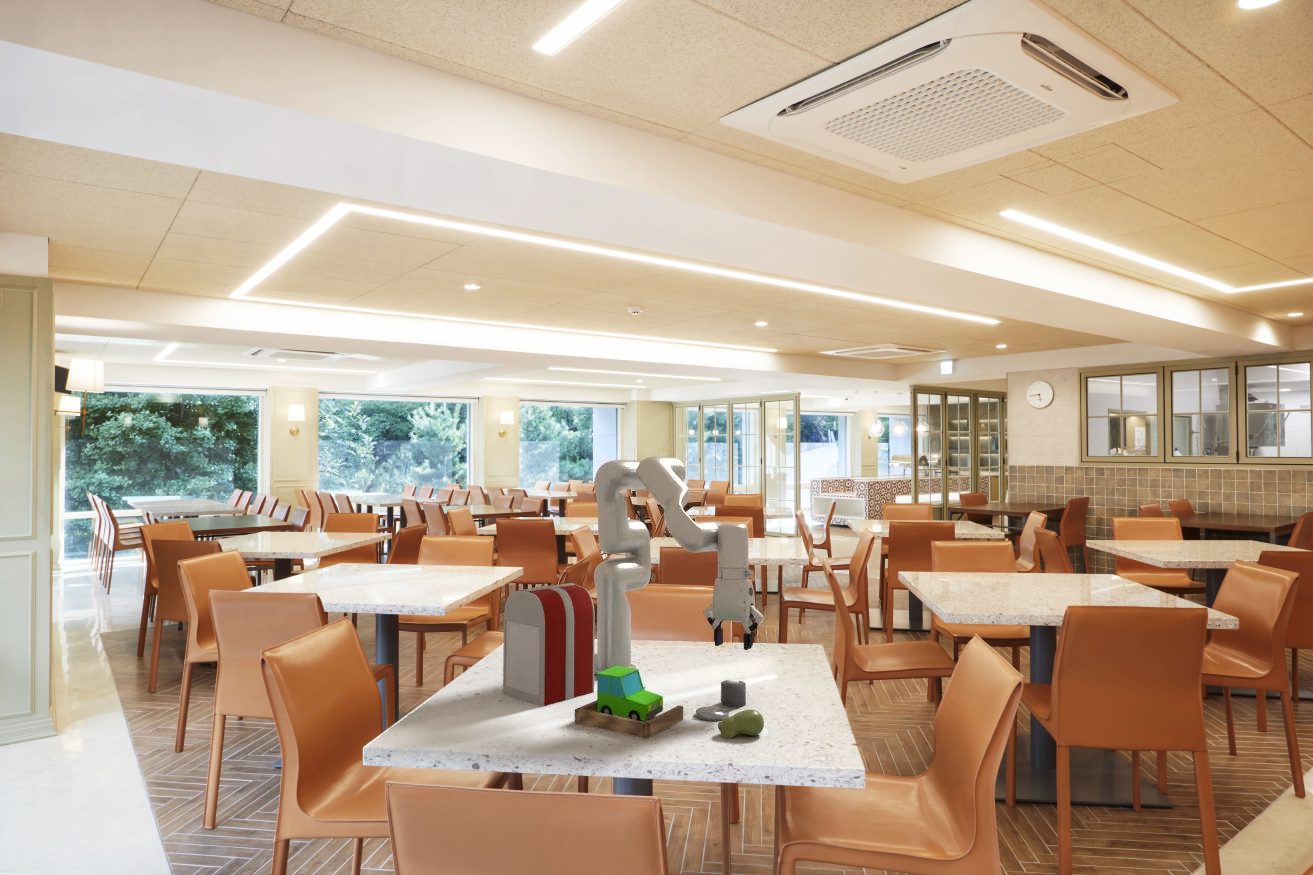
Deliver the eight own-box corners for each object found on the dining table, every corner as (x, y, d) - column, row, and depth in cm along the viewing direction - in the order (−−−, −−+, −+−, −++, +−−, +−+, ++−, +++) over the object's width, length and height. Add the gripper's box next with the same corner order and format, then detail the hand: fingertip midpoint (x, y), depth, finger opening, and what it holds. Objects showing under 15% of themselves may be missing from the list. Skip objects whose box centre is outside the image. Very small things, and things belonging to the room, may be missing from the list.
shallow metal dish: (689, 717, 177) (689, 712, 177) (705, 708, 183) (705, 704, 183) (719, 722, 173) (719, 718, 173) (734, 713, 179) (734, 709, 179)
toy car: (644, 727, 170) (644, 682, 170) (594, 718, 176) (594, 674, 177) (666, 715, 179) (666, 671, 179) (618, 706, 185) (618, 664, 186)
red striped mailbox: (596, 692, 197) (596, 586, 198) (541, 707, 184) (542, 593, 186) (554, 680, 208) (555, 579, 210) (500, 693, 196) (502, 586, 197)
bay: (574, 722, 173) (574, 709, 173) (613, 705, 186) (613, 692, 186) (647, 738, 162) (647, 724, 163) (683, 719, 175) (683, 706, 175)
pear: (764, 711, 163) (719, 721, 162) (768, 736, 163) (723, 746, 162) (757, 703, 169) (713, 713, 167) (761, 727, 169) (717, 737, 167)
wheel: (716, 705, 186) (716, 681, 187) (727, 698, 192) (727, 676, 192) (739, 709, 183) (738, 685, 184) (749, 702, 188) (749, 679, 189)
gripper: (772, 574, 187) (772, 648, 187) (709, 569, 197) (709, 640, 196) (759, 578, 181) (759, 654, 180) (694, 573, 190) (694, 645, 189)
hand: (733, 646), depth 188 cm, fingers open, 7 cm apart
